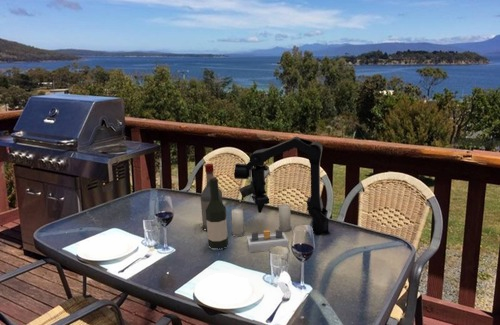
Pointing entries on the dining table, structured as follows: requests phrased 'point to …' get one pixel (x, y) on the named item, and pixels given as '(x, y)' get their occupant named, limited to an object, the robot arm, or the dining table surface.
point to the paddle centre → (267, 234)
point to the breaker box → (266, 242)
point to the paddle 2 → (278, 233)
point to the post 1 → (237, 222)
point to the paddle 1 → (255, 235)
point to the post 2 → (284, 218)
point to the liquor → (207, 194)
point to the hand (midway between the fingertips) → (259, 212)
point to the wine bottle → (216, 218)
